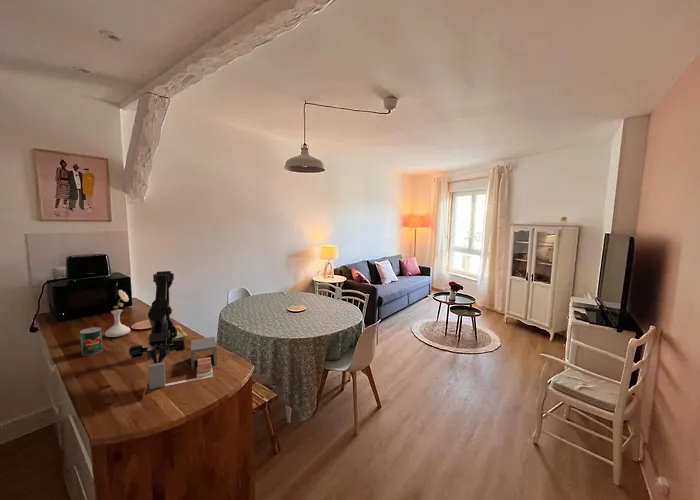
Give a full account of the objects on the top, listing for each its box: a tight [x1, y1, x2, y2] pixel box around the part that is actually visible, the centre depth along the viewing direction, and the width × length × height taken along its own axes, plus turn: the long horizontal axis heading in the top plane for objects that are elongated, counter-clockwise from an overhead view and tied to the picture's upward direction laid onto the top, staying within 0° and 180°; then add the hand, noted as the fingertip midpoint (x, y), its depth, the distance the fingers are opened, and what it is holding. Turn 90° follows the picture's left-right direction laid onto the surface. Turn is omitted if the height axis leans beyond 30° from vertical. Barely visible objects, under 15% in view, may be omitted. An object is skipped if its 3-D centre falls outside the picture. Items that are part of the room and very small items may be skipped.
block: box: [197, 356, 212, 374], centre depth 127 cm, size 5×5×5 cm
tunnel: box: [190, 336, 218, 370], centre depth 137 cm, size 12×10×10 cm
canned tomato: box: [79, 326, 103, 356], centre depth 145 cm, size 8×8×11 cm
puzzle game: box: [173, 324, 189, 341], centre depth 163 cm, size 12×5×20 cm
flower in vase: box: [104, 289, 131, 338], centre depth 166 cm, size 13×11×25 cm
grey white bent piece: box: [148, 361, 214, 390], centre depth 123 cm, size 9×22×10 cm, turn 117°
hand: (157, 369), depth 116 cm, fingers closed
